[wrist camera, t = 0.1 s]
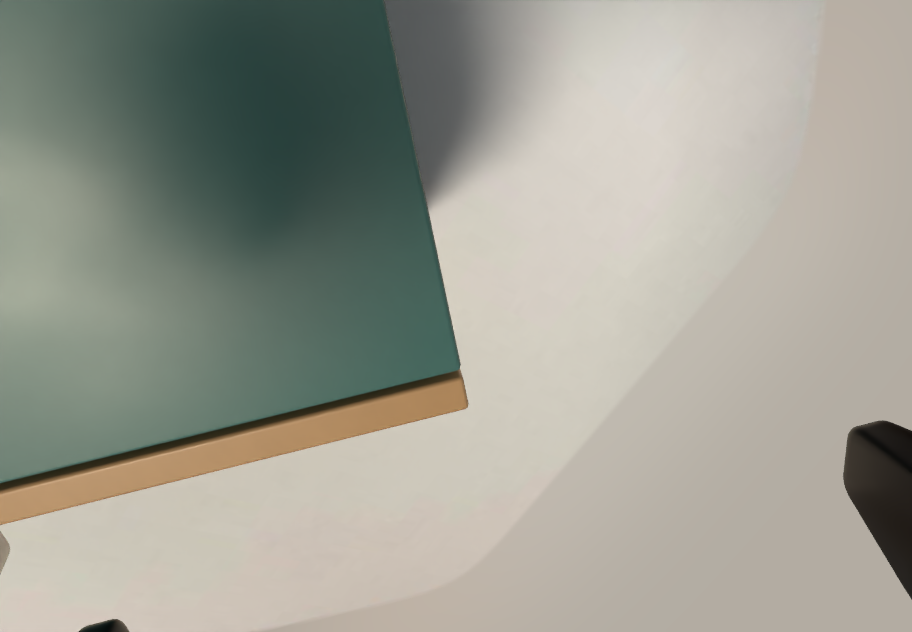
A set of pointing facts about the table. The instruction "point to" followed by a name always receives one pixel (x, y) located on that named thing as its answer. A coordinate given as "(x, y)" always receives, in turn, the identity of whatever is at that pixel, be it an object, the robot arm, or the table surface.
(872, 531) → the robot arm
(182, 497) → the table surface
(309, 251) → the green cabinet
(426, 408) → the wooden cabinet door
